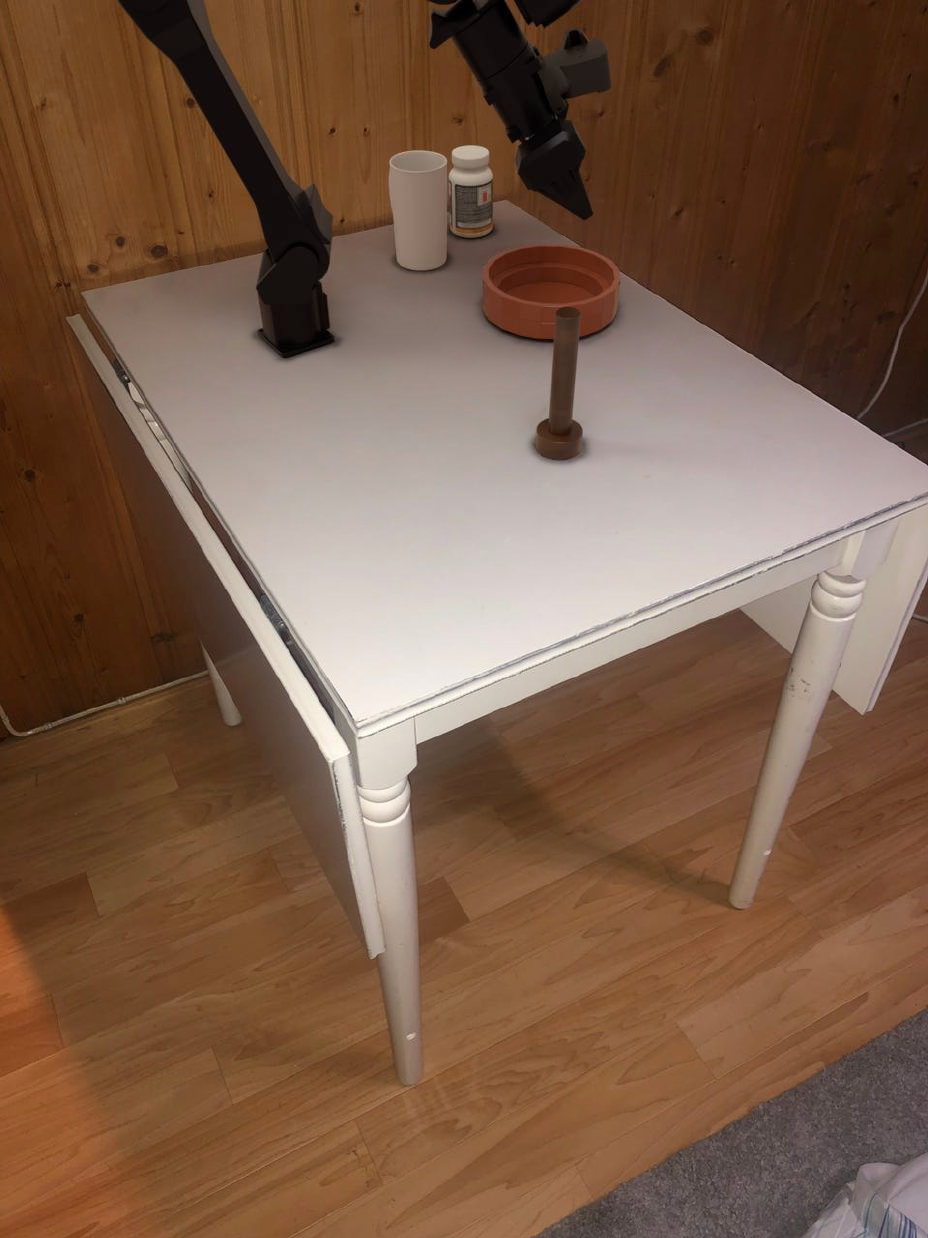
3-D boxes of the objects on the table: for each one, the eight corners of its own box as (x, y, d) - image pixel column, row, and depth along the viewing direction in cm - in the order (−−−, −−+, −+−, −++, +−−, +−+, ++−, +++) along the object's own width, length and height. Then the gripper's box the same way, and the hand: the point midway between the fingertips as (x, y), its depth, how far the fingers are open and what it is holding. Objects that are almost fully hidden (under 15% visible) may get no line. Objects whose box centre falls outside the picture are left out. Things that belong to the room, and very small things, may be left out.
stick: (554, 465, 96) (564, 329, 86) (526, 443, 98) (532, 309, 88) (590, 450, 97) (604, 315, 88) (562, 428, 100) (572, 295, 90)
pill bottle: (501, 229, 133) (503, 150, 126) (472, 243, 130) (472, 163, 123) (469, 217, 136) (469, 139, 129) (440, 230, 133) (438, 152, 126)
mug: (459, 262, 126) (458, 163, 118) (413, 277, 123) (409, 176, 115) (415, 234, 132) (412, 137, 124) (371, 247, 129) (364, 149, 121)
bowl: (536, 358, 110) (538, 320, 106) (456, 302, 119) (456, 265, 116) (643, 318, 116) (648, 281, 113) (559, 268, 125) (562, 232, 122)
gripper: (591, 33, 85) (672, 189, 94) (564, -23, 98) (637, 118, 107) (480, 114, 89) (567, 255, 98) (468, 50, 102) (546, 179, 111)
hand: (582, 198), depth 104 cm, fingers open, 9 cm apart
